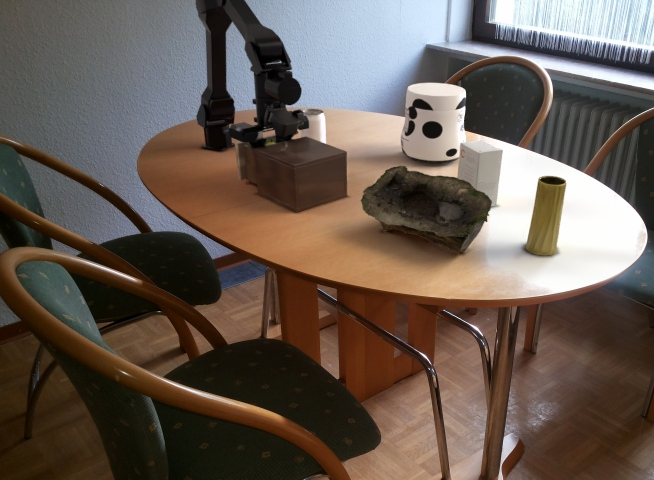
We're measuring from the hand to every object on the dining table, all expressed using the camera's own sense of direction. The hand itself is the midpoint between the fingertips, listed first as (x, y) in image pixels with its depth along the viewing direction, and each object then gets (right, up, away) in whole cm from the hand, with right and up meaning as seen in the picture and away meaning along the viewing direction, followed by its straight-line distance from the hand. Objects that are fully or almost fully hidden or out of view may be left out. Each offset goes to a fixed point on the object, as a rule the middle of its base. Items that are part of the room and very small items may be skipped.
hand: (272, 162), depth 152 cm
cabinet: (+8, -8, -4) cm, 12 cm away
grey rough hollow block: (+35, -21, -23) cm, 47 cm away
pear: (0, -1, +1) cm, 1 cm away
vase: (+58, -23, -25) cm, 67 cm away
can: (+7, +6, +19) cm, 21 cm away
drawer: (0, -3, +2) cm, 4 cm away
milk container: (+39, +6, +22) cm, 45 cm away
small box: (+48, -10, -4) cm, 49 cm away
